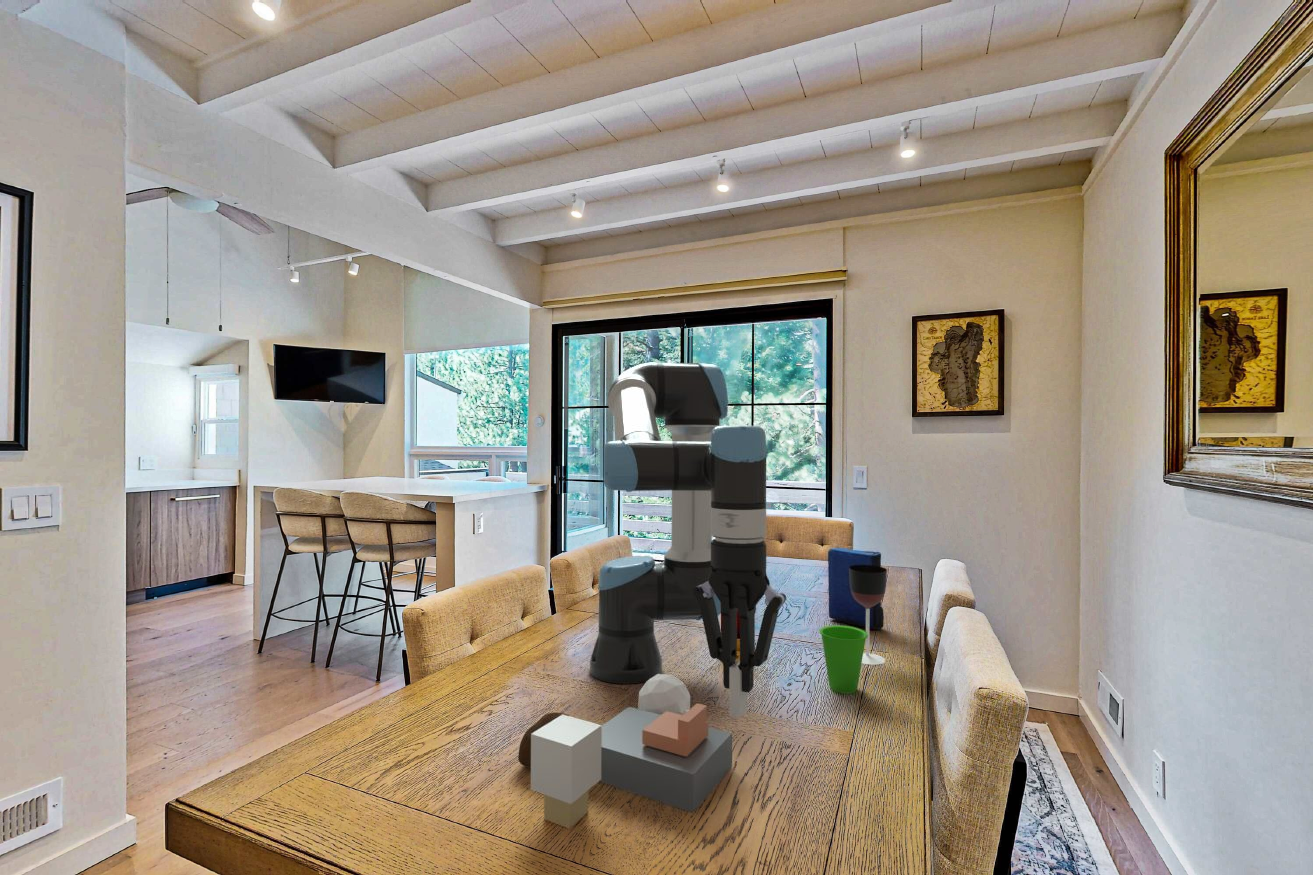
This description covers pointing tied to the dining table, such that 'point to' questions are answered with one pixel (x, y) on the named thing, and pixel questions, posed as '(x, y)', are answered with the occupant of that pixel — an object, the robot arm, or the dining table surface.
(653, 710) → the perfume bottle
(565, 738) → the plug
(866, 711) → the dining table surface
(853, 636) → the cup
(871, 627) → the book
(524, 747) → the potato
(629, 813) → the dining table surface
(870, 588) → the wineglass
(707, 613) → the robot arm
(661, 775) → the socket board
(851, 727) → the dining table surface
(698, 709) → the orange l-shaped block
